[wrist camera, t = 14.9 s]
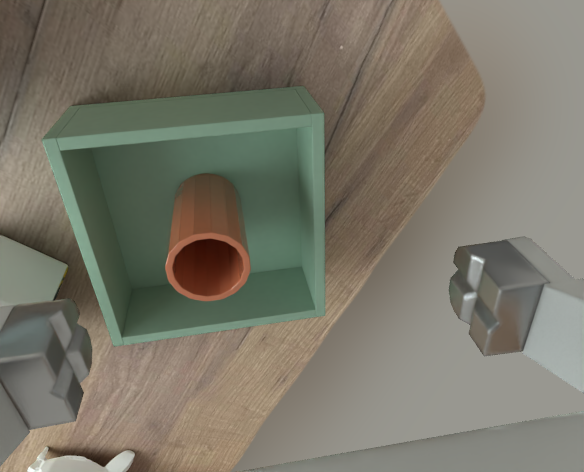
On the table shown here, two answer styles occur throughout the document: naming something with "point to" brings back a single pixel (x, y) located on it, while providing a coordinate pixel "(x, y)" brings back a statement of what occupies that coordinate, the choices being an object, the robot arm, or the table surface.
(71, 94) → the table surface
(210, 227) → the cup
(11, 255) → the medicine bottle
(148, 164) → the open box
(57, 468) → the white faceted figurine
